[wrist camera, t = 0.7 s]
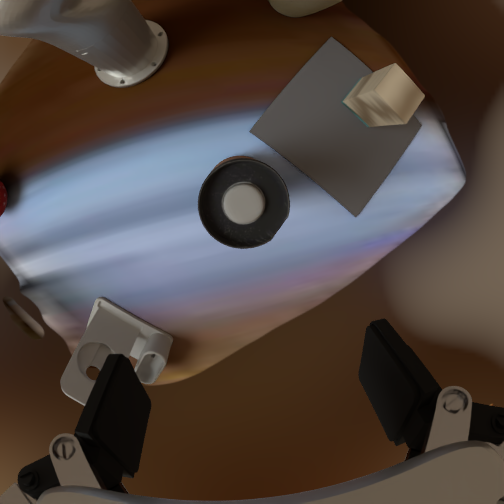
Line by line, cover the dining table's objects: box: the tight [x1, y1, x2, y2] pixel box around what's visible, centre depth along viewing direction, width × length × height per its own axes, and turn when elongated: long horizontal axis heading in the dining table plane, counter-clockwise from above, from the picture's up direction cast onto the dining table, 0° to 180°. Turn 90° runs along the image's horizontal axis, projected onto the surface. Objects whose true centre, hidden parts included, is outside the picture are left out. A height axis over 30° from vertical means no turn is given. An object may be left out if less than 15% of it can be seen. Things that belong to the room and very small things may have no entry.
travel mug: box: [198, 156, 290, 249], centre depth 31 cm, size 8×8×20 cm
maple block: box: [341, 63, 425, 127], centre depth 31 cm, size 6×6×11 cm
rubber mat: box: [249, 37, 422, 217], centre depth 38 cm, size 22×22×1 cm
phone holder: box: [61, 297, 173, 405], centre depth 40 cm, size 17×10×18 cm, turn 56°
